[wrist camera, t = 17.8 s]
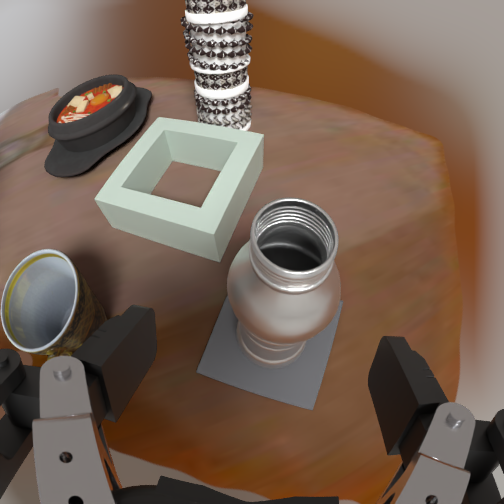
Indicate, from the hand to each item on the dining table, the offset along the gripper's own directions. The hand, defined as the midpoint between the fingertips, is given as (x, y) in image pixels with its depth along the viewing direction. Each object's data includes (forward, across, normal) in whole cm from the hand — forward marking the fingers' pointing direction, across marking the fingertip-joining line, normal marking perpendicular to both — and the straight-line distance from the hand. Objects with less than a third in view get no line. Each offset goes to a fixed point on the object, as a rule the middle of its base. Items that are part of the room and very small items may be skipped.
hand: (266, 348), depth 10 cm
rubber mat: (+18, +1, -11) cm, 21 cm away
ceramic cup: (+15, -19, -14) cm, 28 cm away
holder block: (+30, -12, +1) cm, 32 cm away
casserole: (+40, -33, +10) cm, 52 cm away
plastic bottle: (+18, +1, -11) cm, 21 cm away
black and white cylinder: (+41, -10, +12) cm, 44 cm away
